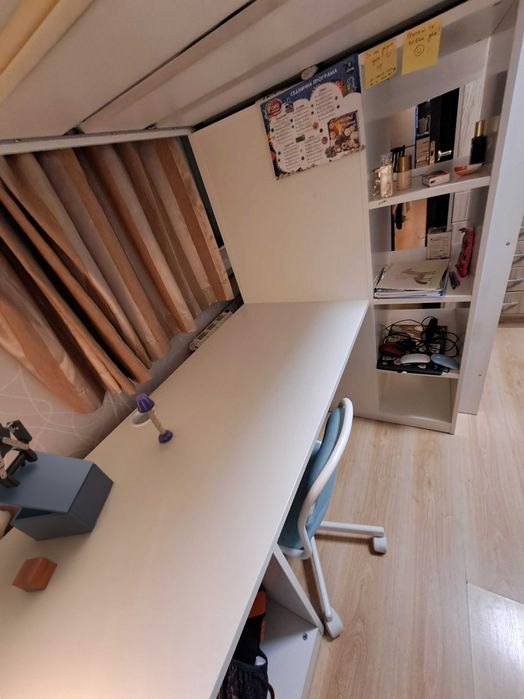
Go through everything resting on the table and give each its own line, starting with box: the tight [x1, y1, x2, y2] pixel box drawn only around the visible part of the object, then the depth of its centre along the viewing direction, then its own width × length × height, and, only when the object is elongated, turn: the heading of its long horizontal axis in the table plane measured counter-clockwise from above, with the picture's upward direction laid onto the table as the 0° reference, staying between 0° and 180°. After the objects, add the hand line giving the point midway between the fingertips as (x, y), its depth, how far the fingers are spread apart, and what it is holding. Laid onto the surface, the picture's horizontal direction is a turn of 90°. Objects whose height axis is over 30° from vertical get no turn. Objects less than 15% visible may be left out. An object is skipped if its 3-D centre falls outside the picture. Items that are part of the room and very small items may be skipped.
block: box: [11, 556, 58, 593], centre depth 61 cm, size 4×4×4 cm
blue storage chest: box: [9, 463, 115, 542], centre depth 72 cm, size 16×13×9 cm
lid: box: [0, 449, 95, 514], centre depth 66 cm, size 16×13×5 cm
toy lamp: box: [134, 393, 173, 444], centre depth 83 cm, size 5×5×17 cm
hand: (25, 472), depth 65 cm, fingers closed on lid, 5 cm apart
